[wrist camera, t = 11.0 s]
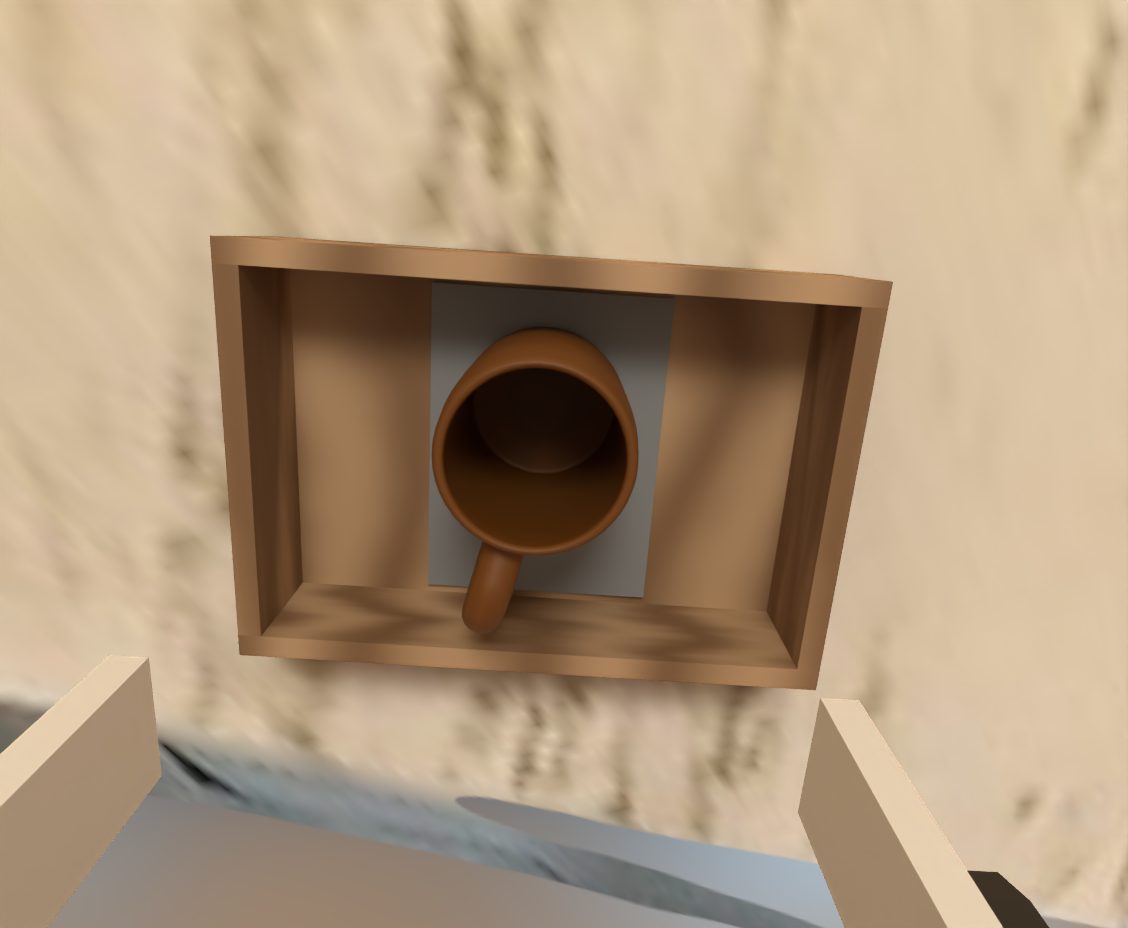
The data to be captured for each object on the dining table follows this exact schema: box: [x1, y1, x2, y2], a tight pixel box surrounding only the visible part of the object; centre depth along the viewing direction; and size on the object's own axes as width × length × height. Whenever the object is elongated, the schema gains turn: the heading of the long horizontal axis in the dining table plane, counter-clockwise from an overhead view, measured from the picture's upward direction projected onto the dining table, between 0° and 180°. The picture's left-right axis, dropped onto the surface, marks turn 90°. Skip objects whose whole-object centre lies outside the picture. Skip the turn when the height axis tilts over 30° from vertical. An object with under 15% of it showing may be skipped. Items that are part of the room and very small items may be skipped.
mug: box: [431, 327, 639, 634], centre depth 31 cm, size 12×8×9 cm, turn 162°
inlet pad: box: [428, 282, 675, 598], centre depth 36 cm, size 11×15×1 cm
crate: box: [210, 236, 893, 690], centre depth 34 cm, size 26×18×6 cm
